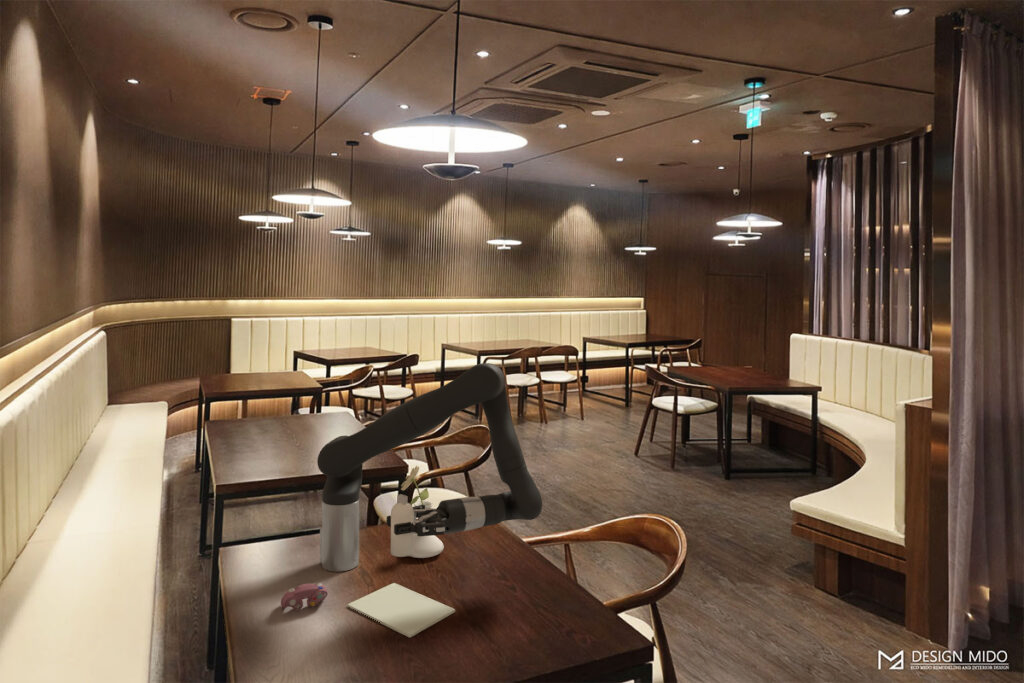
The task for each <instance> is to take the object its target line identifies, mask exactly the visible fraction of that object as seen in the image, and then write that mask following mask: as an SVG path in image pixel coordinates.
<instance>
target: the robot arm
mask: <svg viewBox="0 0 1024 683" xmlns="http://www.w3.org/2000/svg"><path fill="white" fill-rule="evenodd" d="M505 378H506V377H505V374H504V372H503V371H502V369H501V367H499V366H497V365H495V364H493V363H490V362H489V363H488V362H486V363H485V362H483V363H482V362H481V363H478V364H475V365H473V366H471V367H470V368H469V369H467V370H466V371H464V372H463V373H461V374H460V375H459V376H457V377H456V378H454V379H452V380H451V381H449V382H448V383H446V384H444V385H443V386H441V387H438V388H436V389H433V390H430V391H427V392H425V393H422V394H420V395H418V396H416V397H413V398H411V399H409V400H407V401H405V402H403V403H402V404H400V405H397V406H396V407H393V408H392V409H391V410H389V411H387V412H386V413H384V414H383V415H381V416H380V417H378V418H377V419H376V420H373V422H371V423H370V424H369V425H367V426H366V427H364V428H362V429H361V430H359V431H357V432H355V433H353V434H351V435H340V436H337V437H335V438H334V439H332V440H330V441H328V442H327V443H326V444H325V445H324V446H323V447H322V448H321V450H320V451H319V453H318V456H317V461H316V462H317V468H318V470H319V471H320V472H321V473H322V474H323V475H324V476H326V481H325V484H324V487H323V489H322V492H321V493H322V494H321V495H322V496H321V498H322V499H321V500H322V501H321V503H322V504H321V508H322V511H321V513H322V516H321V521H322V522H321V523H322V526H321V527H320V528H319V563H320V564H321V567H322V568H323V569H324V570H326V571H329V572H337V573H338V572H345V571H349V570H353V569H354V568H356V567H357V566H358V565H360V564H359V563H360V562H359V561H360V493H361V492H360V491H361V488H362V484H363V464H365V463H366V462H367V461H369V460H371V459H372V458H374V457H377V456H379V455H380V454H384V453H385V452H389V451H391V450H394V449H395V448H398V447H400V446H402V445H405V444H407V443H409V442H411V441H414V440H415V439H417V438H420V437H421V436H424V435H426V434H427V433H429V432H430V431H432V430H434V429H436V428H437V427H439V426H440V425H441V424H442V423H444V422H445V421H446V420H448V419H449V418H451V417H453V415H455V414H457V413H459V412H461V411H464V410H466V409H468V408H470V407H473V406H475V405H478V404H481V407H482V410H483V412H484V416H485V418H486V421H487V426H488V433H489V438H490V444H491V451H492V455H493V459H494V462H495V465H496V468H497V472H498V475H499V478H500V480H501V482H503V483H504V484H505V485H507V486H508V488H509V490H510V491H505V492H501V493H497V494H488V495H480V496H465V497H459V498H451V499H444V500H441V501H440V502H439V503H438V506H437V507H436V508H433V507H431V508H426V509H425V505H418V506H412V507H413V510H414V521H413V522H412V524H411V522H407V523H400V524H395V525H394V534H395V535H400V534H406V533H411V532H412V534H417V536H433V535H434V536H443V535H448V534H455V533H459V532H467V531H471V530H472V531H473V530H475V529H478V528H483V527H488V526H493V525H499V524H501V523H502V522H506V521H514V520H523V521H524V520H525V521H532V520H535V519H537V518H538V517H539V516H540V515H541V513H542V510H543V499H542V495H541V493H540V490H539V488H538V486H537V485H536V483H535V480H534V479H533V477H532V475H531V474H530V472H529V470H528V466H527V464H526V459H525V456H524V453H523V450H522V447H521V444H520V441H519V438H518V434H517V432H516V429H515V426H514V422H513V419H512V416H511V410H510V406H509V400H508V394H507V386H506V379H505ZM385 518H386V520H385V521H386V525H387V527H391V514H390V515H388V516H386V517H385Z"/></svg>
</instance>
